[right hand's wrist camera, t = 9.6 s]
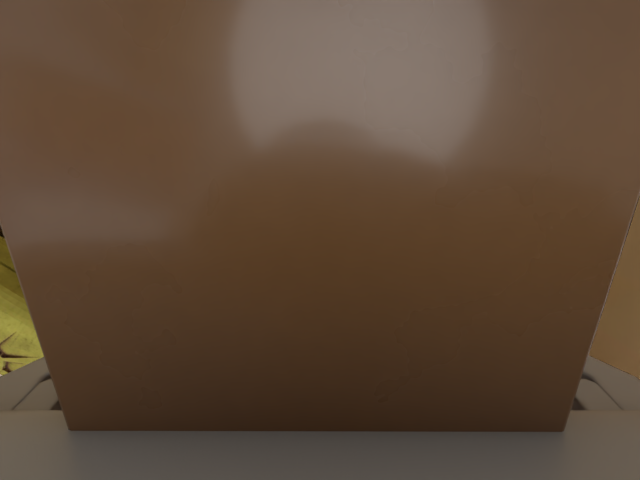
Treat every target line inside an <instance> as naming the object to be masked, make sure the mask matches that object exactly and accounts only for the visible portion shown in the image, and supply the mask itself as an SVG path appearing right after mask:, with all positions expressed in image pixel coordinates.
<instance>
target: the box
mask: <svg viewBox="0 0 640 480" xmlns="http://www.w3.org/2000/svg"><path fill="white" fill-rule="evenodd" d="M639 197H640V0H0V226H1V229H2V232H3V235H4V238H5V241H6V244H7V247H8V250H9V253H10V256H11V259H12V262H13V265H14V268H15V271H16V274H17V277H18V280H19V283H20V286H21V289H22V292H23V295H24V298H25V301H26V304H27V307H28V310H29V313H30V316H31V319H32V322H33V325H34V328H35V331H36V334H37V337H38V340H39V343H40V346H41V349H42V352H43V355H44V358H45V361H46V364H47V367H48V370H49V373H50V376H51V379H52V382H53V385H54V388H55V391H56V394H57V397H58V400H59V403H60V406H61V409H62V412H63V415H64V418H65V421H66V424H67V427H68V430H70V431H374V432H562V431H564V430H565V427H566V423H567V420H568V417H569V414H570V411H571V408H572V405H573V402H574V399H575V395H576V392H577V389H578V386H579V383H580V380H581V377H582V374H583V371H584V367H585V364H586V361H587V358H588V355H589V352H590V349H591V346H592V343H593V340H594V336H595V333H596V330H597V327H598V324H599V321H600V318H601V315H602V312H603V308H604V305H605V302H606V299H607V296H608V293H609V290H610V287H611V284H612V280H613V277H614V274H615V271H616V268H617V265H618V262H619V259H620V256H621V253H622V249H623V246H624V243H625V240H626V237H627V234H628V231H629V228H630V225H631V221H632V218H633V215H634V212H635V209H636V206H637V203H638V200H639Z"/></svg>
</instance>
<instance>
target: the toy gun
mask: <svg viewBox="0 0 640 480" xmlns="http://www.w3.org/2000/svg"><path fill="white" fill-rule="evenodd" d="M42 357H44V355H43V352H42V349H41V346H40V343H39V340H38V337H37V334H36V331H35V328H34V325H33V322H32V319H31V316H30V313H29V310H28V307H27V304H26V301H25V298H24V295H23V292H22V289H21V286H20V283H19V280H18V277H17V274H16V271H15V268H14V265H13V262H12V259H11V256H10V253H9V250H8V247H7V244H6V241H5V239H4V238H3V237H1V236H0V374H1V375H5V374H7V373H9V372H12V371H14V370H16V369H18V368H20V367H23V366H25V365H27V364H29V363H31V362H34V361H36V360H38V359H40V358H42Z"/></svg>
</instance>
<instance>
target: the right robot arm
mask: <svg viewBox="0 0 640 480" xmlns="http://www.w3.org/2000/svg"><path fill="white" fill-rule="evenodd" d="M0 480H640V380H639V379H638V378H637V377H635V376H632V375H630V374H628V373H626V372H624V371H622V370H619V369H617V368H615V367H613V366H611V365H609V364H606V363H604V362H602V361H600V360H598V359H596V358H593V357H591V356H589V355H588V358H587V361H586V364H585V367H584V371H583V374H582V377H581V380H580V383H579V386H578V389H577V392H576V395H575V399H574V402H573V405H572V408H571V411H570V414H569V417H568V420H567V423H566V427H565V430H564V431H562V432H374V431H70V430H68V427H67V424H66V421H65V418H64V415H63V412H62V409H61V406H60V403H59V400H58V397H57V394H56V391H55V388H54V385H53V382H52V379H51V376H50V373H49V370H48V367H47V364H46V361H45V358H44V357H42V358H40V359H38V360H36V361H34V362H31V363H29V364H27V365H25V366H23V367H20V368H18V369H16V370H14V371H12V372H9V373H7V374H5V375H3V376H1V377H0Z"/></svg>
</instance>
